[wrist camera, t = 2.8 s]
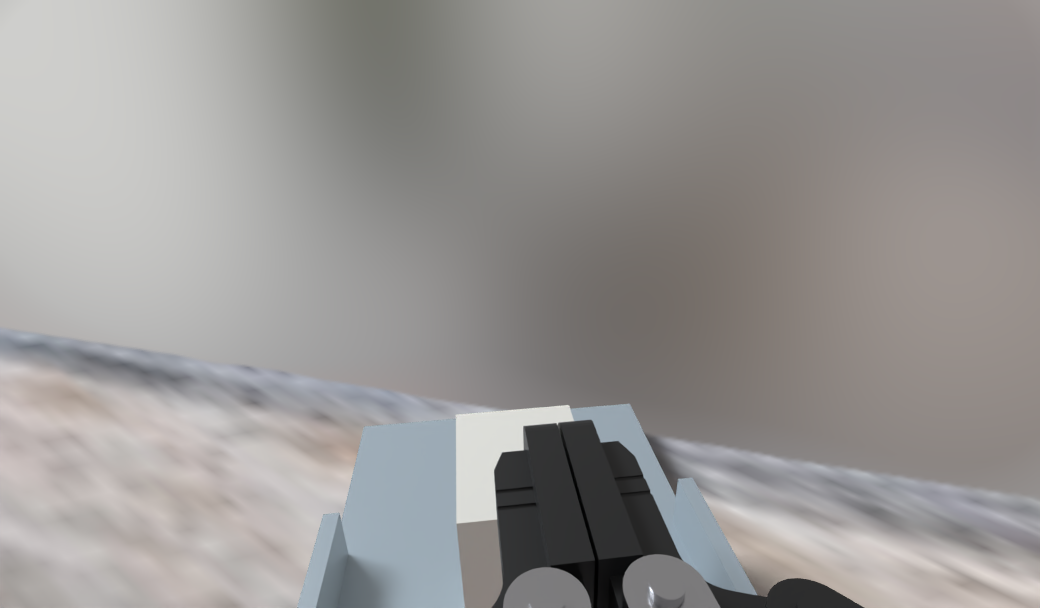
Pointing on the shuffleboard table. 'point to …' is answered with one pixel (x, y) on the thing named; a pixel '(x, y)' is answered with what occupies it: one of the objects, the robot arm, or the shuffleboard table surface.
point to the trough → (432, 519)
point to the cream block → (487, 492)
